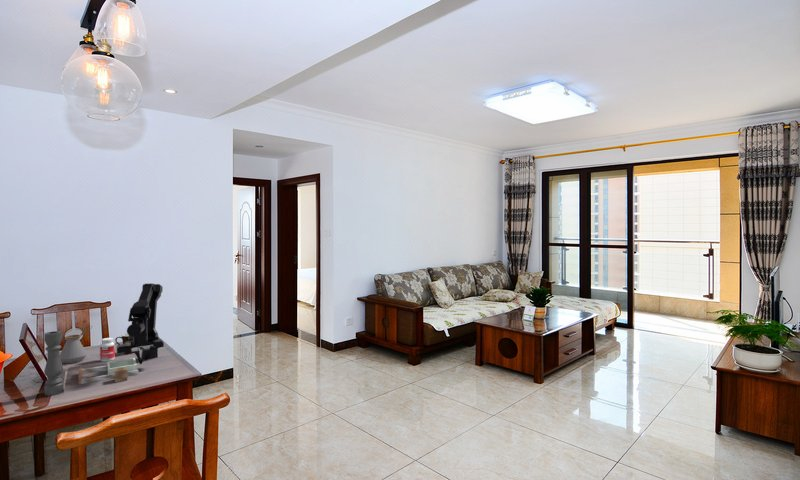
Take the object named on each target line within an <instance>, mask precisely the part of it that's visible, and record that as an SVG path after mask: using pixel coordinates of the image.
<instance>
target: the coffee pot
mask: <svg viewBox="0 0 800 480" xmlns="http://www.w3.org/2000/svg"><path fill="white" fill-rule="evenodd" d="M92 328H93V326H92V325H87V326H86V327H85V329H84V330H82V332H81V333H80V334H70V335H66V336H65V337H64V339H65V343H64V346H62V347H63V348H61V349H62V350H61V351H60V352H59V353H60V360H61V363H63V364H74V363H80V362H82V361H83V359H85V358H86V357H87V355H88V353H87V350H86V349H85V347H84V345H83V344H82V342H81V340H80V339H81V337H83V335H84V334H86V333H87V331H88V330H89V329H92Z"/></svg>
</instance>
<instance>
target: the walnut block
mask: <svg viewBox="0 0 800 480" xmlns="http://www.w3.org/2000/svg"><path fill="white" fill-rule="evenodd" d="M125 381H126V382H127V381H128V376H127V367H123V368H117V369H115V378H114V383H121V382H125Z"/></svg>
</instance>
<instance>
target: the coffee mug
mask: <svg viewBox="0 0 800 480" xmlns="http://www.w3.org/2000/svg"><path fill="white" fill-rule="evenodd" d="M118 339H122V344H127V346H128V345H133V342H129V335H128V333H127V332H126V333H123V334H121V336H117V337H116V338H115V340H114V342H115V344H117V345H120V344H121V343H119V342H118V341H117V340H118ZM135 347H138V346H135ZM124 354H125V355H134V354H133V353H132V351H131V349H129V350H127V351H126V352H125V353H124Z"/></svg>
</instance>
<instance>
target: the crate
mask: <svg viewBox="0 0 800 480" xmlns="http://www.w3.org/2000/svg"><path fill="white" fill-rule="evenodd" d="M106 363H107V365H106V366H107V368H108V370H107V375H109V374H115V369H117V368H123V367H127V371H133V370H138V363H137V360H136V358H135V357H133V358H132V357H131V358H126V359H119V360H112V361H107V362H106Z"/></svg>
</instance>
